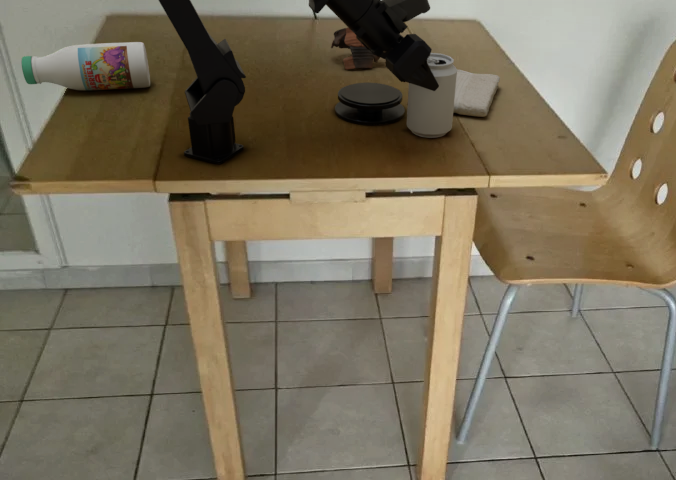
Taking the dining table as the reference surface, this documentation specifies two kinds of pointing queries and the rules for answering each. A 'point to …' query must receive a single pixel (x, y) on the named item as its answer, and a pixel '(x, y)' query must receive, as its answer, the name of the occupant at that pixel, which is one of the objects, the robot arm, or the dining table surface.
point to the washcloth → (474, 93)
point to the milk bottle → (91, 67)
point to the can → (433, 100)
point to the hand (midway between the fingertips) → (425, 78)
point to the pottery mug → (353, 50)
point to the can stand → (369, 104)
